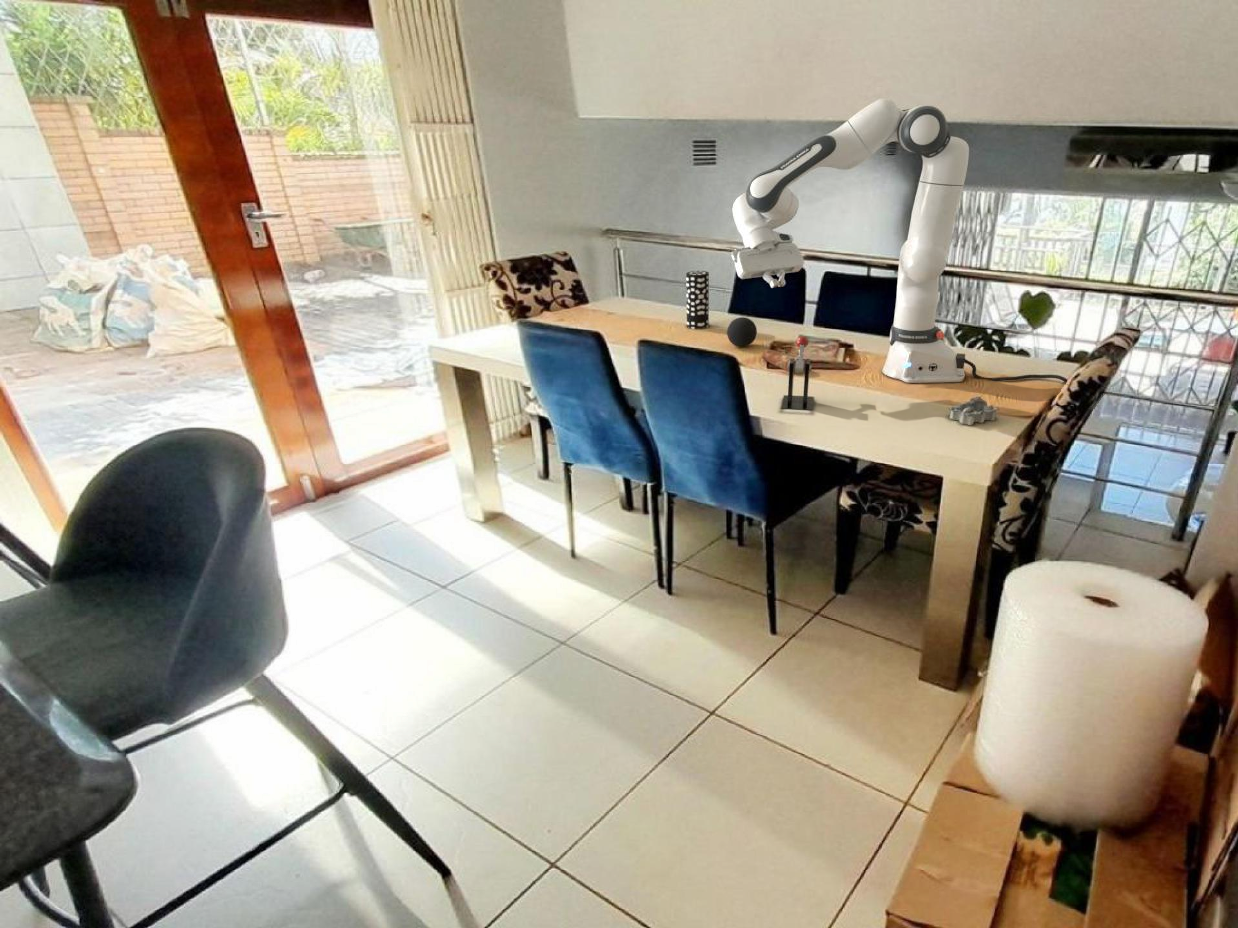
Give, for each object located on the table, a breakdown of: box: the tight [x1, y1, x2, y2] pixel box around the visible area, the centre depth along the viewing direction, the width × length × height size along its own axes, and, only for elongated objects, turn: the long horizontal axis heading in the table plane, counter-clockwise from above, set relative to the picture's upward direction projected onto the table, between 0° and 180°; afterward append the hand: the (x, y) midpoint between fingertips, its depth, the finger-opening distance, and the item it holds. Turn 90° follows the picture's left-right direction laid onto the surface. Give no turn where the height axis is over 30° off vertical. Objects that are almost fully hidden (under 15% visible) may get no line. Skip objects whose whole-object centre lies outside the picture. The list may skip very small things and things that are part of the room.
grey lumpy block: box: [947, 395, 1000, 426], centre depth 176 cm, size 11×8×4 cm
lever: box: [794, 335, 810, 375], centre depth 188 cm, size 13×3×3 cm, turn 162°
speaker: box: [726, 316, 758, 348], centre depth 240 cm, size 10×10×10 cm
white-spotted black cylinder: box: [685, 270, 710, 330], centre depth 265 cm, size 8×8×20 cm
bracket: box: [780, 358, 815, 412], centre depth 187 cm, size 10×8×13 cm
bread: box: [761, 349, 806, 375], centre depth 218 cm, size 6×19×6 cm, turn 20°
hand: (778, 286), depth 197 cm, fingers closed
